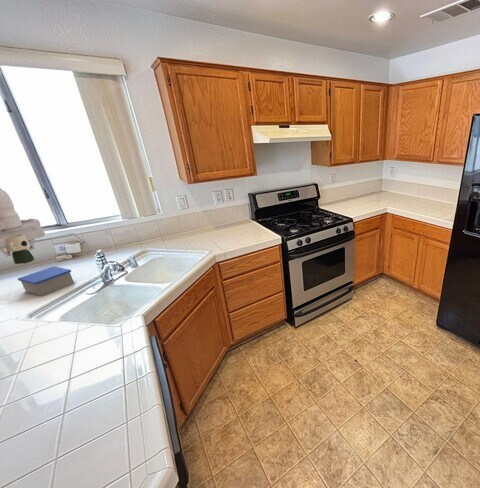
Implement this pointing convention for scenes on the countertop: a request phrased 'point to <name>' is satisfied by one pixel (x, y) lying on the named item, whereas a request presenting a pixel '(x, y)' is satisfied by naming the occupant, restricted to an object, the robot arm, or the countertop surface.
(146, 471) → the countertop surface
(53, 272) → the storage tub
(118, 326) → the countertop surface
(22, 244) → the character mug
